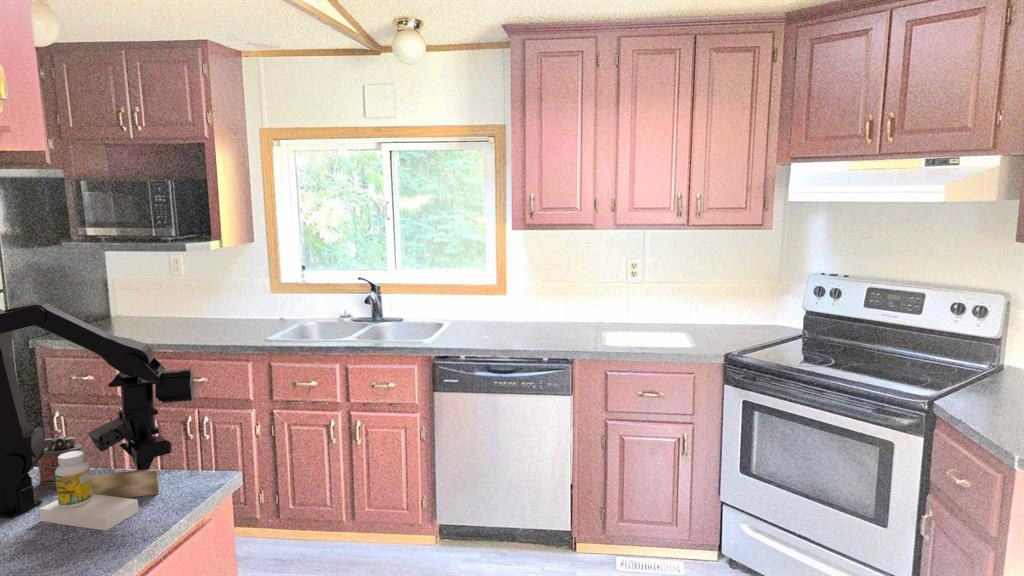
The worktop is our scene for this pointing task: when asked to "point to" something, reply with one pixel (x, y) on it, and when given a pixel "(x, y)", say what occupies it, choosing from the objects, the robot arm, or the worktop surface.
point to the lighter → (54, 458)
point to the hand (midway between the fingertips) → (142, 477)
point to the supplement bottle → (73, 480)
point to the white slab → (91, 512)
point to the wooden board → (126, 483)
